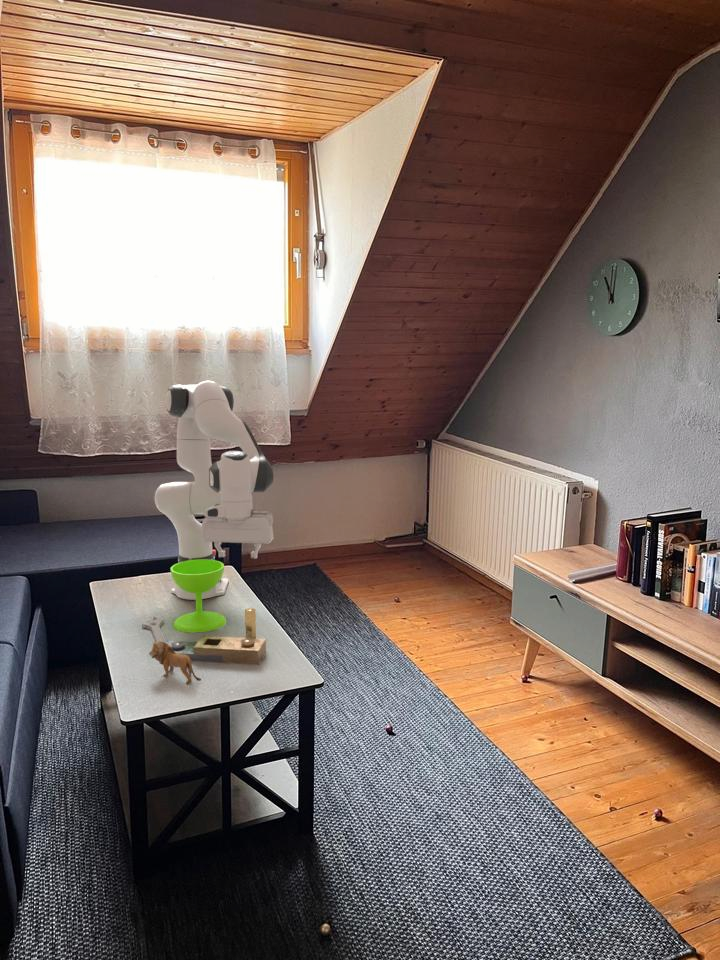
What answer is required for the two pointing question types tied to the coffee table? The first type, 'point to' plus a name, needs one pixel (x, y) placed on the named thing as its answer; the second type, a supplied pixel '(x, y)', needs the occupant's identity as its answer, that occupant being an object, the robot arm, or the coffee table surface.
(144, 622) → the adjustable wrench
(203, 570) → the wineglass
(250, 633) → the brass pin
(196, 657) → the door latch
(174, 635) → the coffee table surface
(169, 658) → the lion figurine
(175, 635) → the coffee table surface
